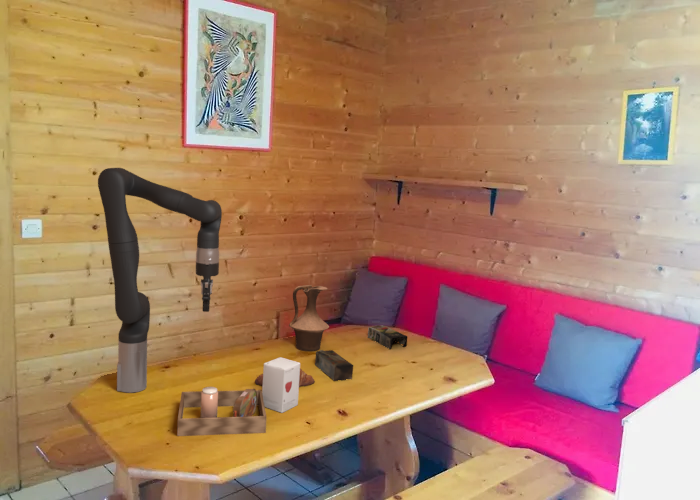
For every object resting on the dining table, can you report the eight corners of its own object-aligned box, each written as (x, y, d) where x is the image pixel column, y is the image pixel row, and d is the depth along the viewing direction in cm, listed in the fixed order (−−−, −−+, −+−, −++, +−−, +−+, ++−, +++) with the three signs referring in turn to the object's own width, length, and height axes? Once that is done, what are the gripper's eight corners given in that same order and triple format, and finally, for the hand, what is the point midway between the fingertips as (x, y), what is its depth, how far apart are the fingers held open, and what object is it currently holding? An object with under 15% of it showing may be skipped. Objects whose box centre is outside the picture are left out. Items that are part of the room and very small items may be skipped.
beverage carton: (332, 363, 246) (333, 347, 245) (353, 380, 229) (354, 363, 228) (314, 365, 243) (315, 349, 242) (334, 382, 226) (335, 365, 225)
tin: (240, 429, 183) (241, 403, 181) (230, 428, 183) (231, 401, 182) (257, 410, 197) (258, 385, 196) (248, 408, 198) (249, 384, 197)
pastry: (285, 373, 232) (286, 353, 231) (316, 384, 223) (317, 363, 222) (253, 384, 219) (254, 363, 218) (284, 396, 210) (285, 374, 209)
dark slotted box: (365, 337, 284) (366, 324, 284) (382, 335, 290) (383, 323, 289) (389, 350, 268) (390, 337, 267) (407, 348, 273) (408, 335, 272)
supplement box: (282, 413, 195) (284, 369, 193) (260, 406, 200) (262, 363, 198) (298, 405, 203) (301, 362, 201) (278, 398, 208) (280, 356, 205)
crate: (177, 436, 176) (177, 419, 175) (181, 406, 196) (181, 391, 195) (265, 432, 182) (266, 417, 181) (260, 404, 202) (261, 390, 201)
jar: (200, 423, 185) (201, 392, 184) (200, 416, 190) (201, 386, 188) (217, 422, 186) (218, 392, 185) (217, 415, 191) (218, 386, 190)
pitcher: (293, 355, 252) (296, 289, 248) (282, 342, 268) (285, 280, 264) (333, 352, 259) (337, 288, 254) (320, 340, 274) (324, 280, 270)
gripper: (196, 256, 207) (195, 302, 209) (195, 264, 193) (193, 313, 195) (219, 257, 208) (217, 302, 211) (219, 265, 194) (217, 313, 197)
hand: (206, 308), depth 203 cm, fingers open, 8 cm apart
